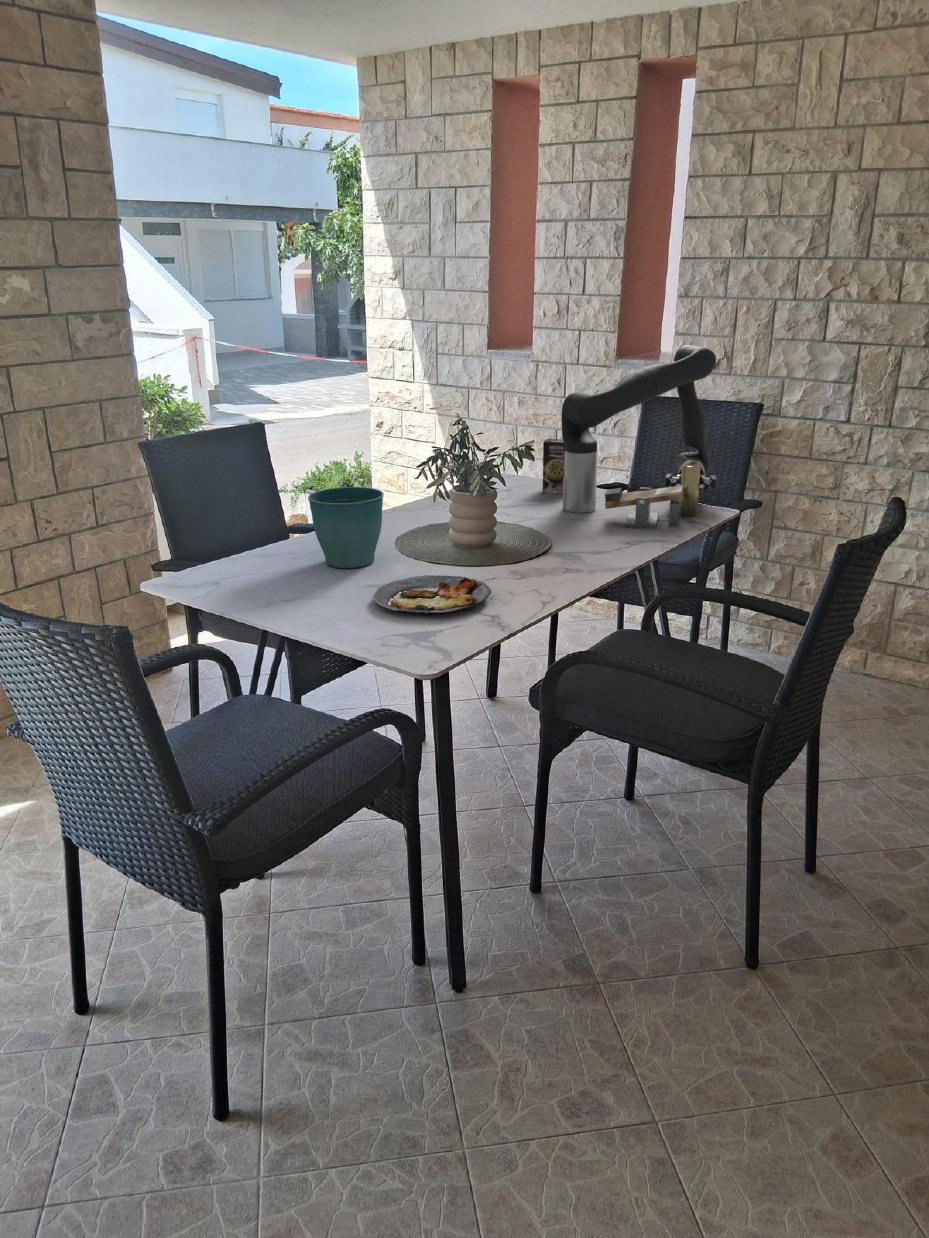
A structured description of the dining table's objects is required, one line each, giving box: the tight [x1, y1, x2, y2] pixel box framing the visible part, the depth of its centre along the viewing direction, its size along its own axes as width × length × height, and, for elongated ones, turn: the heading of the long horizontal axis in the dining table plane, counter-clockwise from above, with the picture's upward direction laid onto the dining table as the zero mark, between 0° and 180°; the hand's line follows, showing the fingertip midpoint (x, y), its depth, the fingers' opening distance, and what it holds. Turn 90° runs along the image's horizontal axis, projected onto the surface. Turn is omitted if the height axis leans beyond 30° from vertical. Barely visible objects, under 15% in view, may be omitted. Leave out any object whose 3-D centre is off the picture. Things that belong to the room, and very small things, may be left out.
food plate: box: [372, 574, 492, 615], centre depth 202 cm, size 25×23×4 cm
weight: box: [679, 464, 700, 518], centre depth 262 cm, size 5×5×14 cm
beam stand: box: [625, 487, 680, 530], centre depth 257 cm, size 14×14×8 cm
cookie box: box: [542, 438, 565, 494], centre depth 293 cm, size 9×6×16 cm
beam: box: [604, 485, 683, 510], centre depth 256 cm, size 20×10×4 cm, turn 75°
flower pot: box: [307, 486, 384, 569], centre depth 227 cm, size 18×18×17 cm
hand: (689, 486), depth 263 cm, fingers open, 8 cm apart
